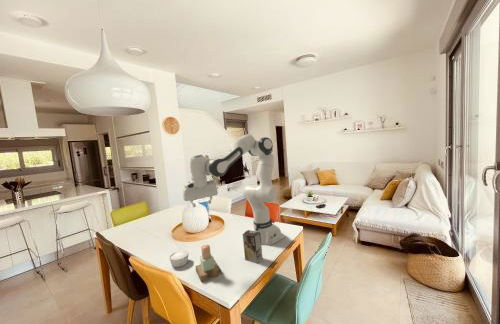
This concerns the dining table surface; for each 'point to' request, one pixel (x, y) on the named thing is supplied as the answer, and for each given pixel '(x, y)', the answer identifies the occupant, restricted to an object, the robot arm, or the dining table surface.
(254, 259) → the coffee box
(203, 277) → the walnut base
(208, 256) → the reddish pink cylinder
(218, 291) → the dining table surface
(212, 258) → the green cube
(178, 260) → the ramekin
